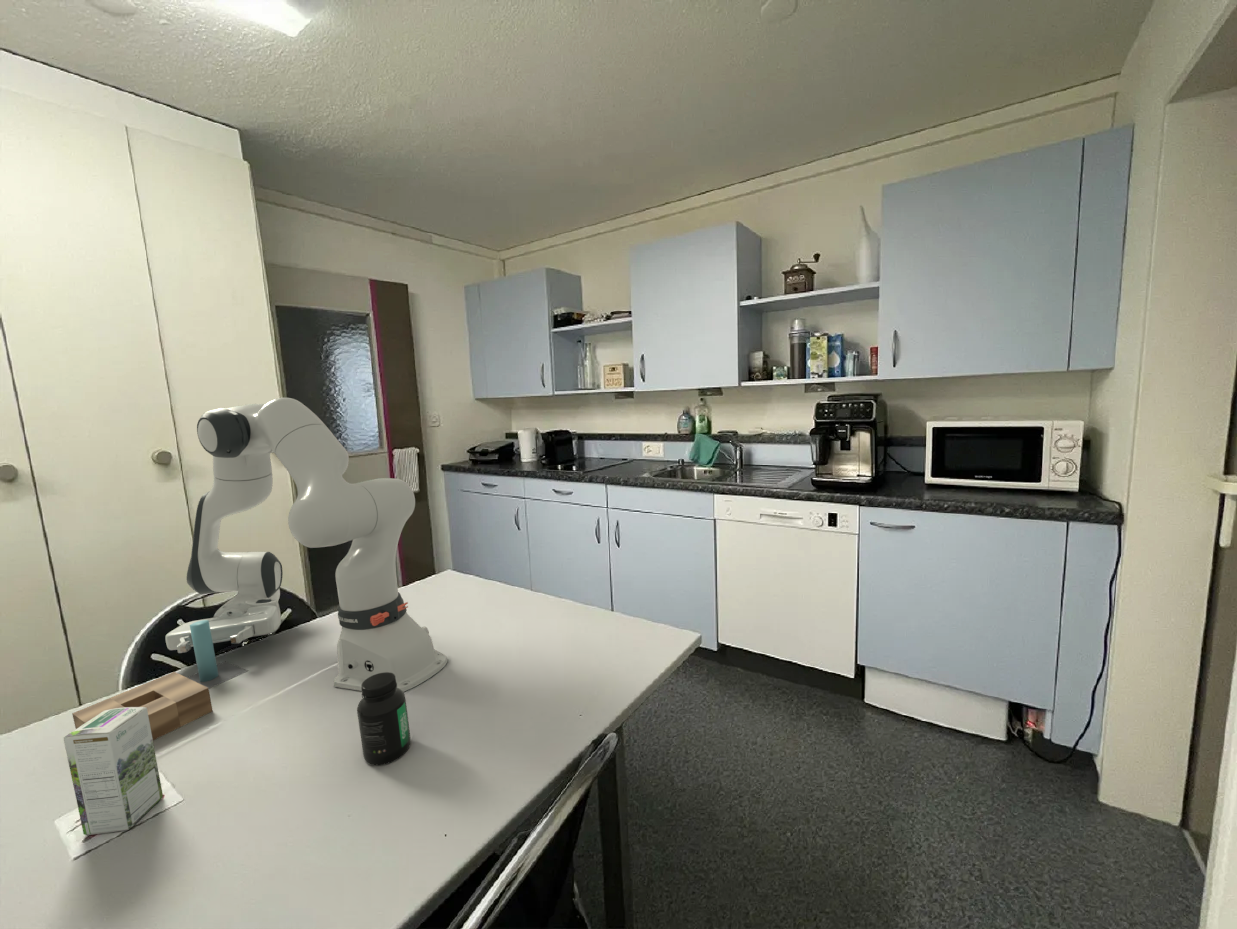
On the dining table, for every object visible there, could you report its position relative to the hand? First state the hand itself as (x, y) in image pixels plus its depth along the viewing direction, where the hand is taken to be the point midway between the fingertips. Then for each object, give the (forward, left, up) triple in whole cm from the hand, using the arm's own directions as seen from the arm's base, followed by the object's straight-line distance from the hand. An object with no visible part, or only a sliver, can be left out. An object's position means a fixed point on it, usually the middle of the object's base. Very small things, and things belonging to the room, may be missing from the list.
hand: (208, 644), depth 104 cm
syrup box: (-33, +24, -7) cm, 41 cm away
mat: (-1, +1, -7) cm, 7 cm away
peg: (-1, +1, -7) cm, 7 cm away
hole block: (-9, +14, -7) cm, 18 cm away
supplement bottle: (-56, 0, -7) cm, 56 cm away
